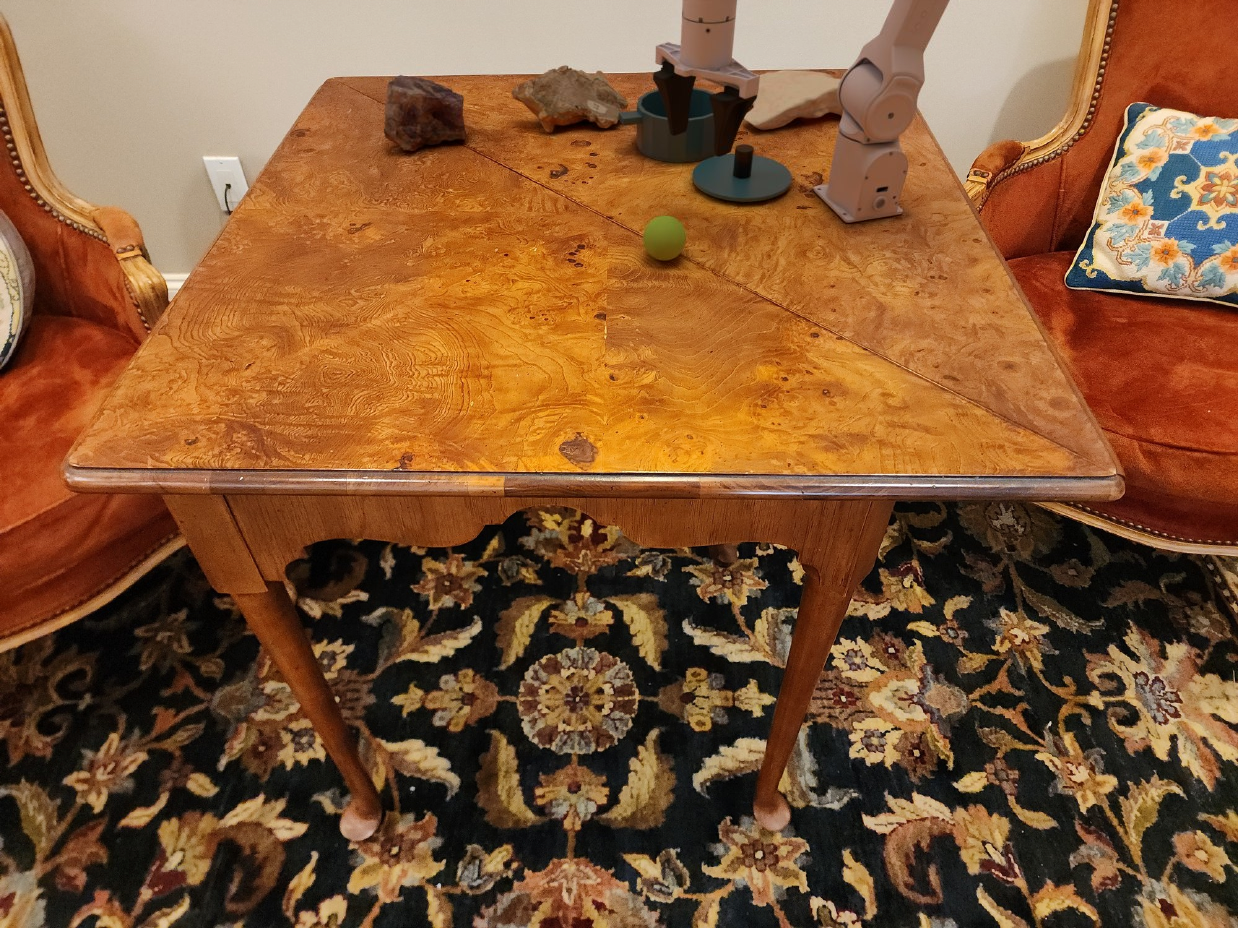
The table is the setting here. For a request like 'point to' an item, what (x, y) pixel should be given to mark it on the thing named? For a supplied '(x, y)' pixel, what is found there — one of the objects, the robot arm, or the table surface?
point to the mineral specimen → (571, 98)
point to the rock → (422, 113)
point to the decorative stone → (793, 98)
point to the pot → (656, 130)
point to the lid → (742, 176)
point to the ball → (664, 238)
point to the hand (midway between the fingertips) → (700, 143)
